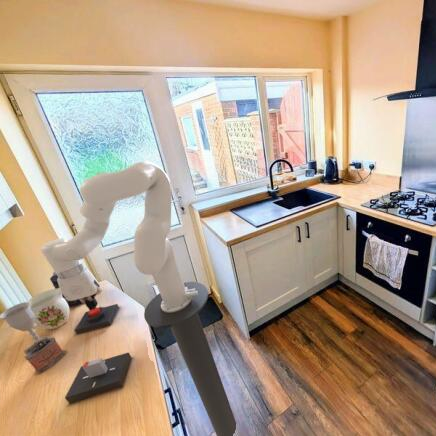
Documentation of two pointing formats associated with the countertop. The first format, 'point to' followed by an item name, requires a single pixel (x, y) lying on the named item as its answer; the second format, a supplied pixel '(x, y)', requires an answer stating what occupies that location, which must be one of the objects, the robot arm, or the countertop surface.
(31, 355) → the brick-red planter box
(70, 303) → the storage jar
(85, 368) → the knob
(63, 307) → the pitcher
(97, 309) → the power button
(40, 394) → the countertop surface
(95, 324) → the base
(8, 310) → the chalice
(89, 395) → the control panel
